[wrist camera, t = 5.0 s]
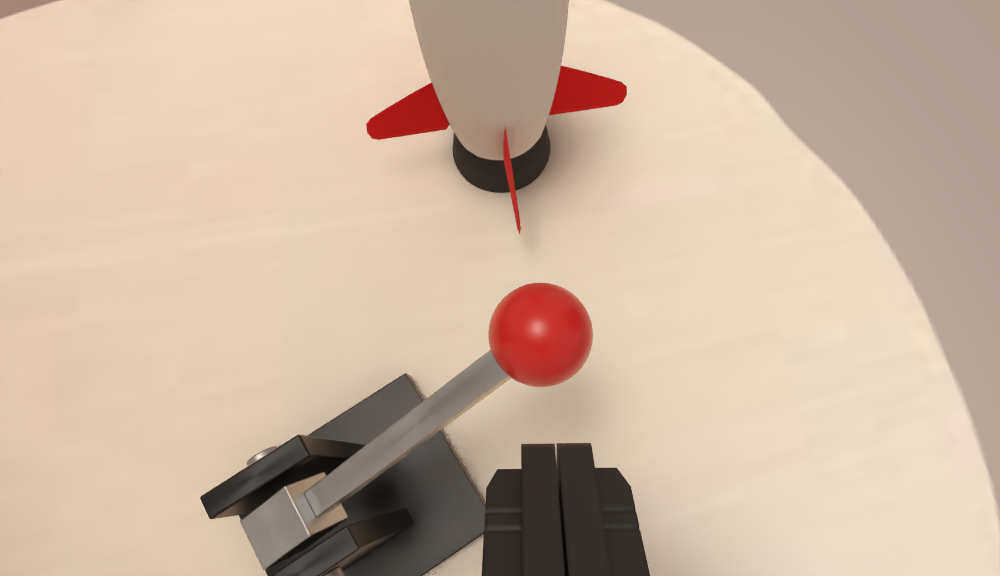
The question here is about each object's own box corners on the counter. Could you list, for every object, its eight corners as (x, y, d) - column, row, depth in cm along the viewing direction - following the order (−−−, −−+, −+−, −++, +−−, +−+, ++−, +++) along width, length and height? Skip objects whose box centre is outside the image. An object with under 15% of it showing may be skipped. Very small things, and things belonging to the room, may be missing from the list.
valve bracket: (409, 375, 38) (352, 329, 25) (497, 522, 35) (481, 551, 23) (234, 487, 36) (84, 495, 24) (313, 649, 33) (189, 752, 21)
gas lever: (566, 266, 23) (534, 257, 20) (622, 345, 22) (599, 350, 19) (284, 486, 28) (219, 509, 24) (321, 559, 27) (259, 594, 23)
